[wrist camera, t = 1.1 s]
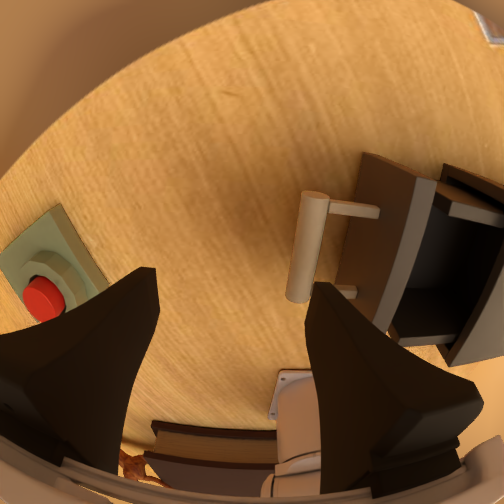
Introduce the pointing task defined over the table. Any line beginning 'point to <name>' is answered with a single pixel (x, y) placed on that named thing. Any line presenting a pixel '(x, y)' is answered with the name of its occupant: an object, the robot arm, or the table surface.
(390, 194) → the drawer
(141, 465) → the cat figurine
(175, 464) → the book
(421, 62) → the table surface
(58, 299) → the button
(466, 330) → the cabinet
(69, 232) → the olive button base
